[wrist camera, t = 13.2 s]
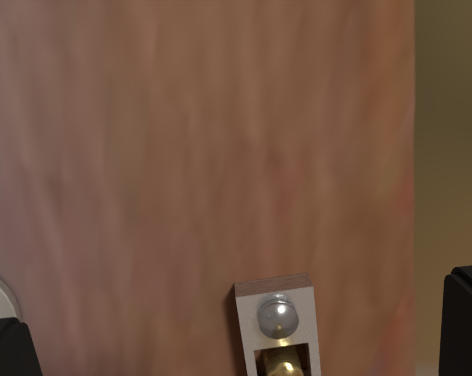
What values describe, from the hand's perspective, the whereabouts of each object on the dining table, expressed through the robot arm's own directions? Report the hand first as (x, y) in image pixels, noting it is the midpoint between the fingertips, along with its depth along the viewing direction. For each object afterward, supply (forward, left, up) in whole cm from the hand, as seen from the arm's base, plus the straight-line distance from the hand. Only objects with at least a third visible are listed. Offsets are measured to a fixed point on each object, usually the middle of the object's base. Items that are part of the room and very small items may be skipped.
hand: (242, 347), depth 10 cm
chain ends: (-16, -17, -28) cm, 36 cm away
